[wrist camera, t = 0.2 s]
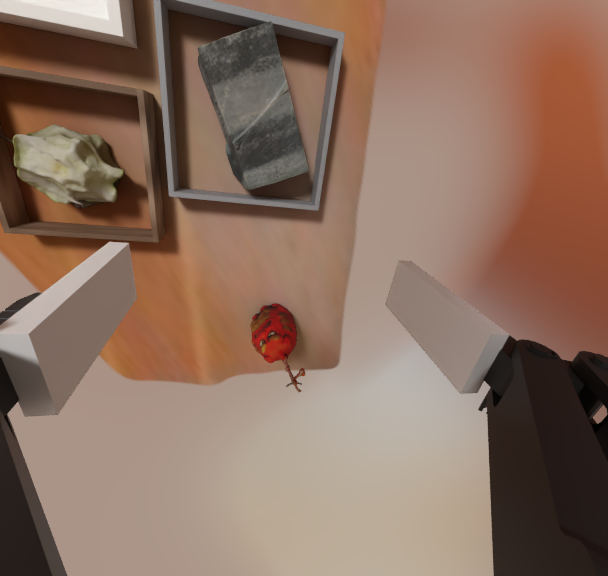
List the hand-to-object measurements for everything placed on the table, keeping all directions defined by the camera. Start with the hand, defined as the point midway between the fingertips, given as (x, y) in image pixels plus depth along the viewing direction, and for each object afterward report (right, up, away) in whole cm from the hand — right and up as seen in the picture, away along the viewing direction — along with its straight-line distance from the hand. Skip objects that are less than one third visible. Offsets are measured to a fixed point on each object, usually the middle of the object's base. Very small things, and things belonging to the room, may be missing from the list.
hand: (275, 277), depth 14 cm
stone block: (-5, +20, +21) cm, 30 cm away
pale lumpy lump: (-25, +14, +20) cm, 35 cm away
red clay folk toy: (-4, -6, +35) cm, 35 cm away
